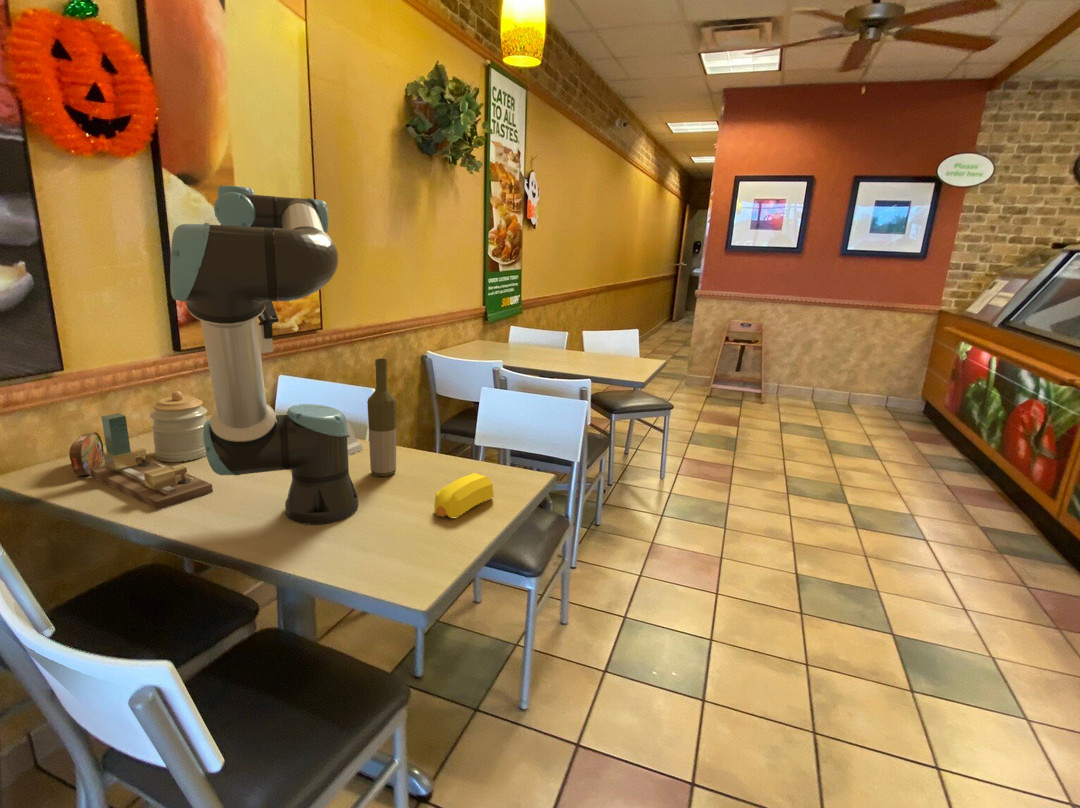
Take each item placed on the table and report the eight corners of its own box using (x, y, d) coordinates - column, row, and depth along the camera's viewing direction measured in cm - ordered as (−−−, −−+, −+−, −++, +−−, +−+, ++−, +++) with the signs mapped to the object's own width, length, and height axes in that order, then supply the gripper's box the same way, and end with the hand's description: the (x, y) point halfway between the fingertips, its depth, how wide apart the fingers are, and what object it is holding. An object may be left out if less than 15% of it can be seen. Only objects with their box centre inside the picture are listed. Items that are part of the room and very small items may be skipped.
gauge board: (212, 492, 133) (210, 467, 132) (157, 510, 123) (153, 483, 122) (145, 463, 148) (142, 440, 147) (91, 477, 138) (87, 452, 137)
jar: (172, 467, 147) (164, 400, 142) (145, 456, 153) (136, 391, 148) (221, 453, 158) (215, 390, 153) (194, 443, 164) (187, 383, 159)
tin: (87, 480, 137) (81, 446, 134) (71, 481, 135) (65, 447, 133) (106, 458, 150) (101, 427, 148) (91, 459, 149) (86, 428, 147)
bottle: (363, 475, 147) (360, 360, 139) (379, 466, 154) (376, 356, 146) (387, 480, 145) (385, 363, 137) (402, 470, 151) (401, 358, 144)
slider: (151, 463, 141) (144, 413, 138) (116, 473, 135) (107, 420, 131) (141, 459, 144) (134, 409, 140) (105, 468, 137) (97, 416, 134)
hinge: (320, 467, 151) (308, 431, 150) (308, 470, 153) (296, 434, 152) (364, 449, 166) (353, 416, 165) (352, 451, 168) (341, 419, 167)
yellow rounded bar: (425, 516, 127) (451, 526, 124) (425, 488, 126) (452, 497, 122) (475, 490, 142) (500, 498, 138) (476, 465, 140) (501, 472, 137)
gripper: (290, 260, 130) (296, 353, 135) (225, 255, 142) (233, 340, 147) (260, 260, 124) (267, 357, 129) (194, 254, 136) (204, 344, 141)
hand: (249, 348), depth 138 cm, fingers open, 13 cm apart
